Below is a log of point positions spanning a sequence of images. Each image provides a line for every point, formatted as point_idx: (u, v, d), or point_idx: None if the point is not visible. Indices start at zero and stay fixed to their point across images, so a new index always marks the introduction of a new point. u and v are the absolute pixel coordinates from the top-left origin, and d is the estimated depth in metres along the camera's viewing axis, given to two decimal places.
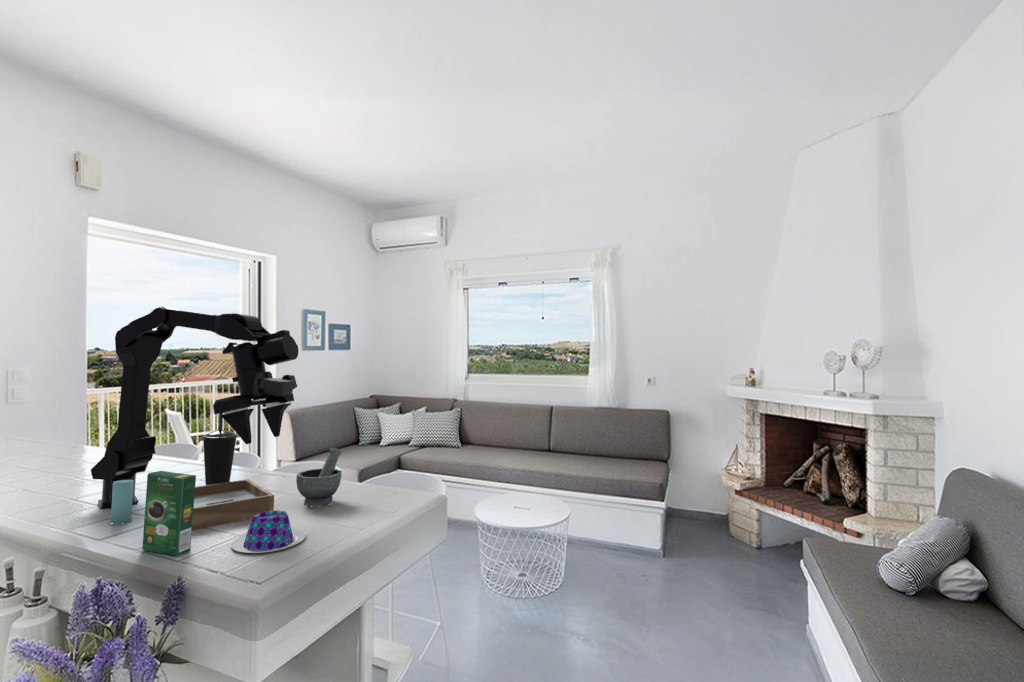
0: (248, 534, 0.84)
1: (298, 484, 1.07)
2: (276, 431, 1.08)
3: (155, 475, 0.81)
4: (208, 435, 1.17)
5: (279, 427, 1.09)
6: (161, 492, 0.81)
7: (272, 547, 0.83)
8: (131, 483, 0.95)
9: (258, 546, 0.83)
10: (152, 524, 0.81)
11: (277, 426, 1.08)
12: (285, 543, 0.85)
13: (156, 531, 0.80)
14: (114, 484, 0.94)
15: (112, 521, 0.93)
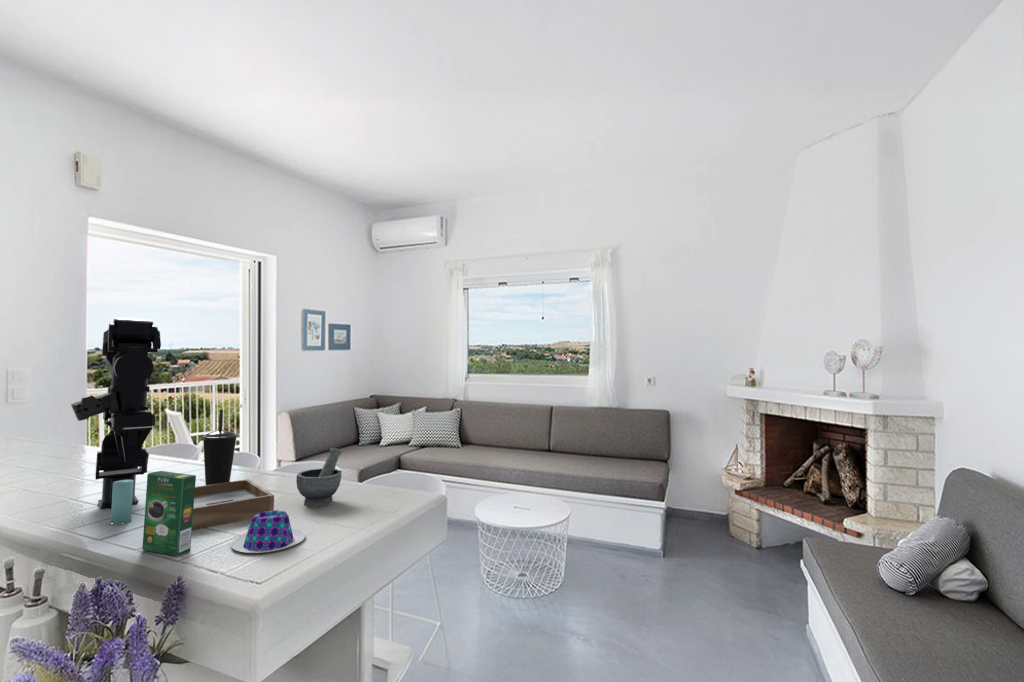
0: (248, 534, 0.84)
1: (298, 484, 1.07)
2: None
3: (155, 475, 0.81)
4: (208, 435, 1.17)
5: (123, 453, 0.92)
6: (161, 492, 0.81)
7: (273, 547, 0.83)
8: (131, 483, 0.95)
9: (258, 546, 0.83)
10: (152, 524, 0.81)
11: None
12: (286, 543, 0.85)
13: (156, 531, 0.80)
14: (114, 484, 0.94)
15: (112, 521, 0.93)
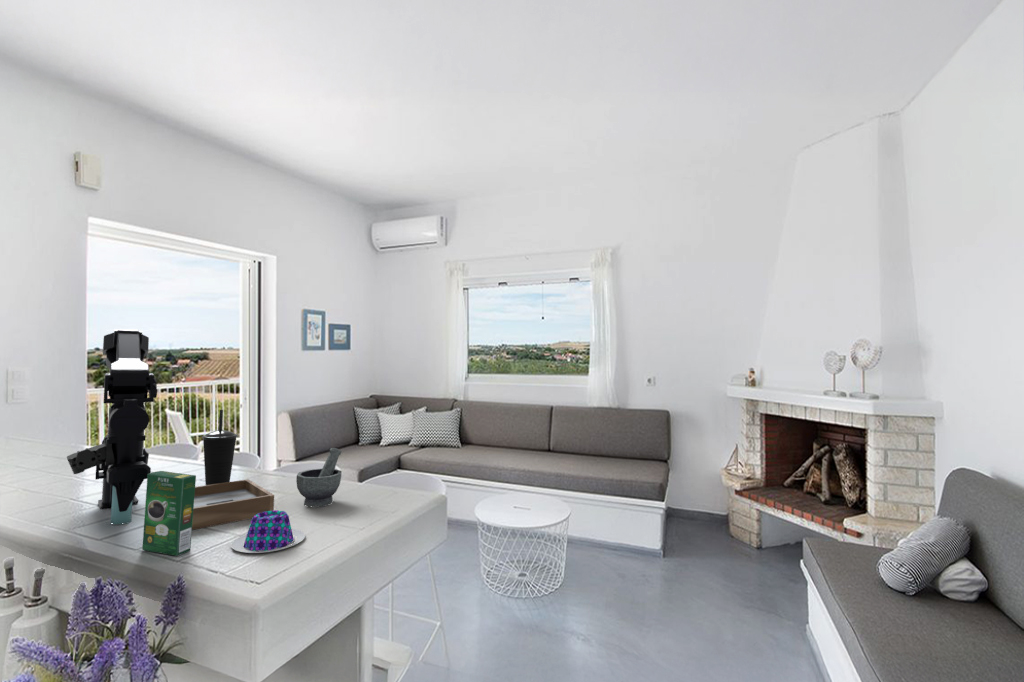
0: (249, 534, 0.84)
1: (298, 484, 1.07)
2: None
3: (155, 475, 0.81)
4: (208, 435, 1.17)
5: None
6: (161, 492, 0.81)
7: (274, 547, 0.83)
8: None
9: (259, 546, 0.83)
10: (152, 524, 0.81)
11: None
12: (287, 542, 0.85)
13: (156, 531, 0.80)
14: None
15: (112, 521, 0.93)
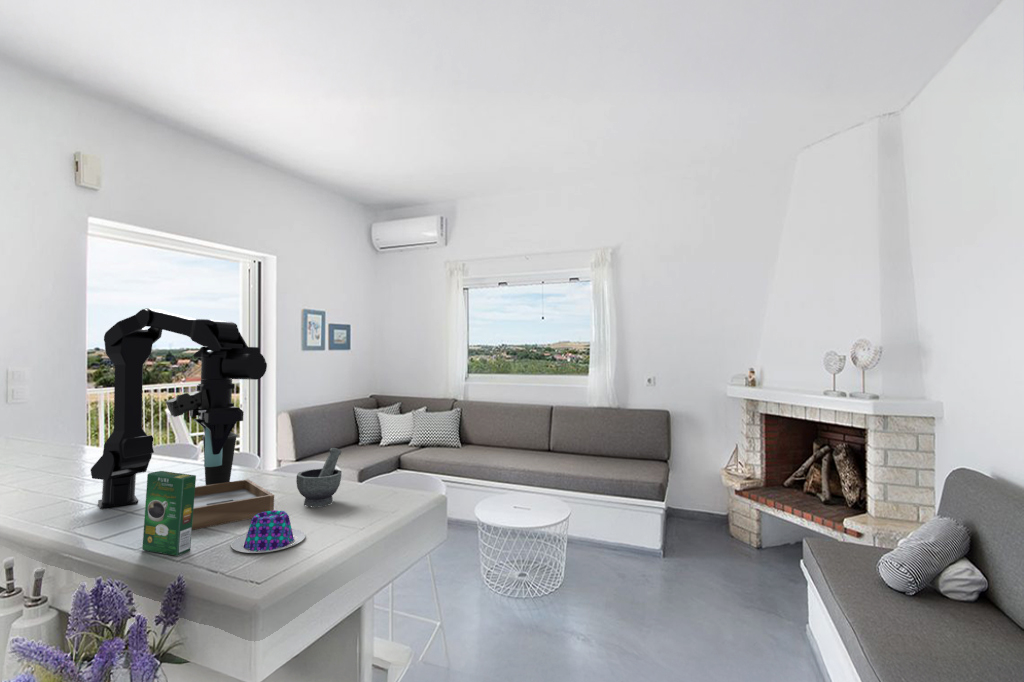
0: (249, 535, 0.84)
1: (298, 484, 1.07)
2: None
3: (155, 475, 0.81)
4: None
5: (211, 445, 0.99)
6: (161, 492, 0.81)
7: (276, 546, 0.83)
8: None
9: (261, 546, 0.83)
10: (152, 524, 0.81)
11: None
12: (288, 542, 0.85)
13: (156, 531, 0.80)
14: (207, 429, 0.99)
15: (206, 463, 0.99)
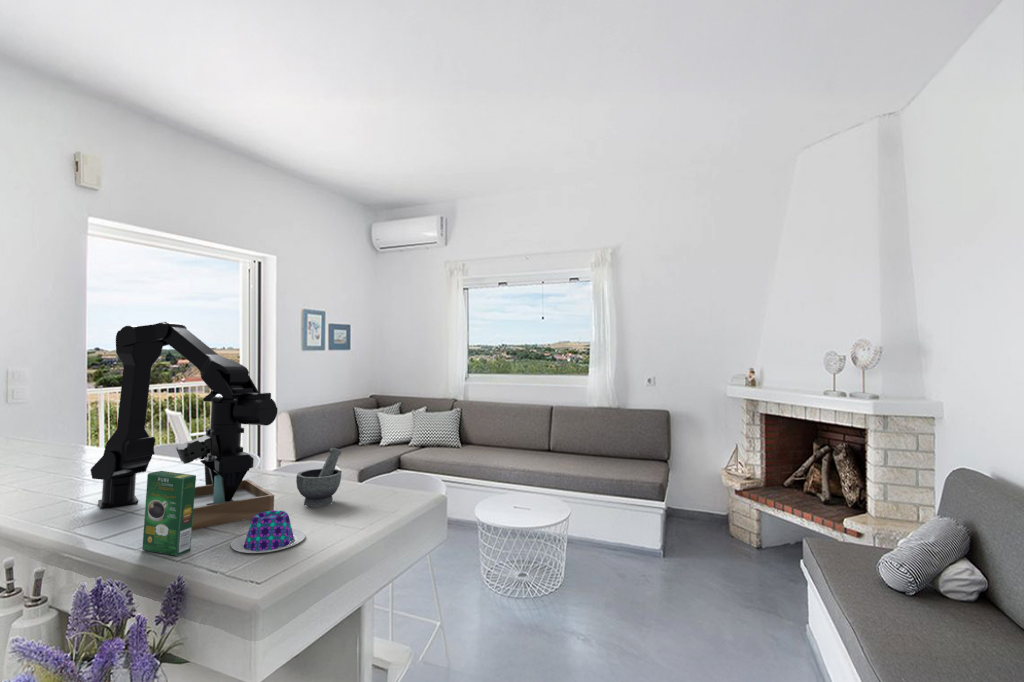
0: (250, 535, 0.84)
1: (298, 484, 1.07)
2: None
3: (155, 475, 0.81)
4: None
5: (223, 492, 0.98)
6: (161, 492, 0.81)
7: (277, 546, 0.84)
8: None
9: (262, 546, 0.83)
10: (152, 524, 0.81)
11: None
12: (288, 541, 0.86)
13: (156, 531, 0.80)
14: (216, 478, 1.00)
15: None
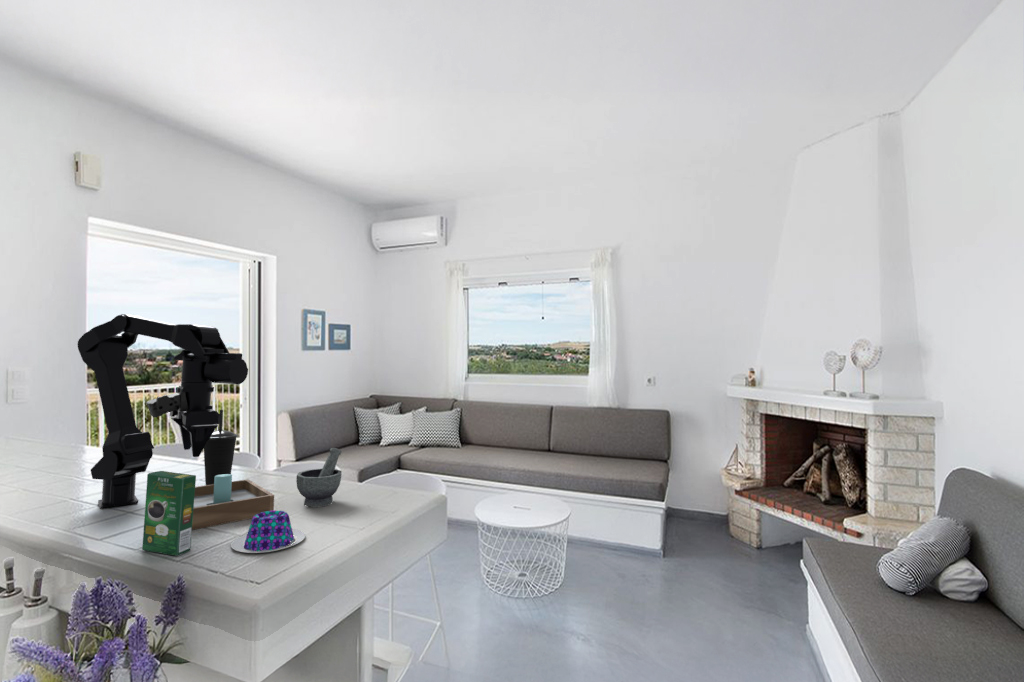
0: (250, 535, 0.83)
1: (298, 484, 1.07)
2: None
3: (155, 475, 0.81)
4: None
5: None
6: (161, 492, 0.81)
7: (278, 545, 0.84)
8: (230, 477, 1.02)
9: (263, 546, 0.83)
10: (152, 524, 0.81)
11: None
12: (289, 541, 0.86)
13: (156, 531, 0.80)
14: (216, 478, 1.00)
15: None
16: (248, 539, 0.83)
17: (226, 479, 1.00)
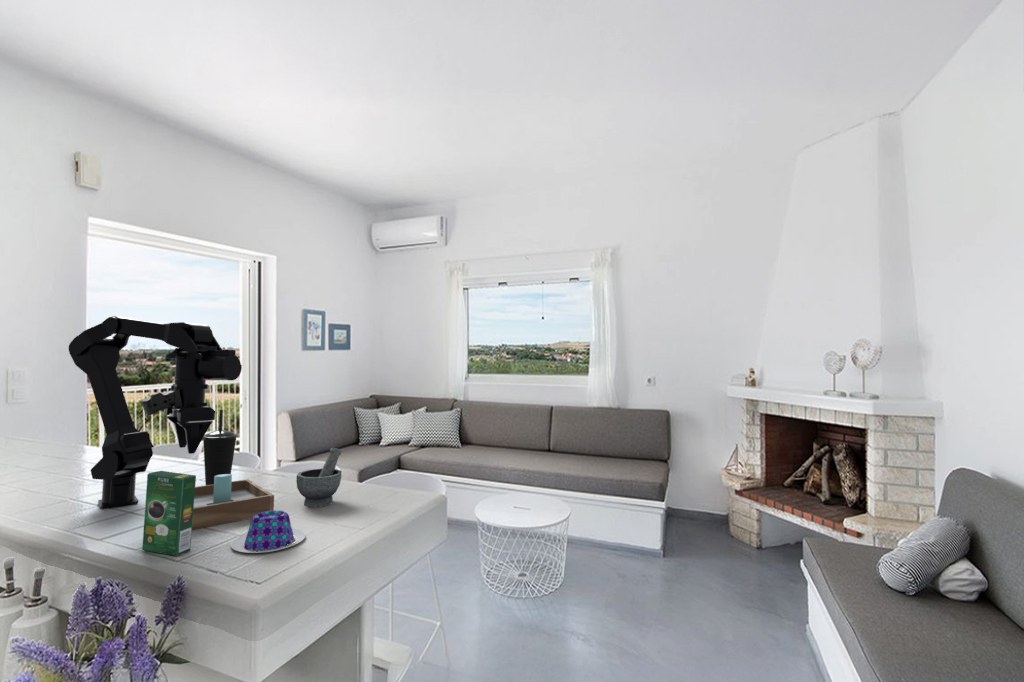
0: (251, 535, 0.83)
1: (298, 484, 1.07)
2: None
3: (155, 475, 0.81)
4: (208, 435, 1.17)
5: (187, 444, 1.01)
6: (161, 492, 0.81)
7: (279, 545, 0.84)
8: (230, 477, 1.02)
9: (264, 546, 0.83)
10: (152, 524, 0.81)
11: None
12: (290, 540, 0.86)
13: (156, 531, 0.80)
14: (216, 478, 1.00)
15: None
16: (248, 539, 0.83)
17: (226, 479, 1.00)
